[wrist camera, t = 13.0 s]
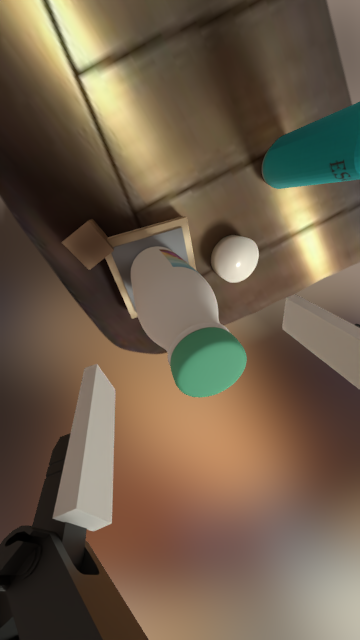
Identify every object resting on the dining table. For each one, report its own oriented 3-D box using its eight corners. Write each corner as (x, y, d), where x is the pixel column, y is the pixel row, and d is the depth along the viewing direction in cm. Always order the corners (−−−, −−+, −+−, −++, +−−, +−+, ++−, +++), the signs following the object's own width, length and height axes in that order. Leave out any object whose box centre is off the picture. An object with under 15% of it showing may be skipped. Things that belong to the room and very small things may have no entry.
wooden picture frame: (99, 239, 26) (97, 242, 23) (181, 216, 27) (187, 217, 25) (131, 311, 32) (132, 319, 30) (195, 290, 34) (201, 296, 31)
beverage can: (277, 196, 29) (393, 188, 17) (250, 178, 27) (360, 154, 14) (300, 152, 27) (453, 105, 14) (272, 128, 25) (426, 48, 12)
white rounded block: (208, 241, 30) (216, 245, 27) (247, 229, 31) (259, 231, 28) (213, 281, 34) (220, 287, 31) (248, 270, 34) (258, 275, 32)
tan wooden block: (69, 237, 25) (61, 242, 21) (92, 218, 24) (88, 220, 21) (93, 262, 27) (89, 270, 24) (114, 245, 27) (113, 250, 23)
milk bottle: (143, 305, 29) (174, 431, 13) (120, 258, 25) (120, 357, 8) (188, 285, 30) (274, 384, 13) (172, 236, 25) (270, 291, 9)
